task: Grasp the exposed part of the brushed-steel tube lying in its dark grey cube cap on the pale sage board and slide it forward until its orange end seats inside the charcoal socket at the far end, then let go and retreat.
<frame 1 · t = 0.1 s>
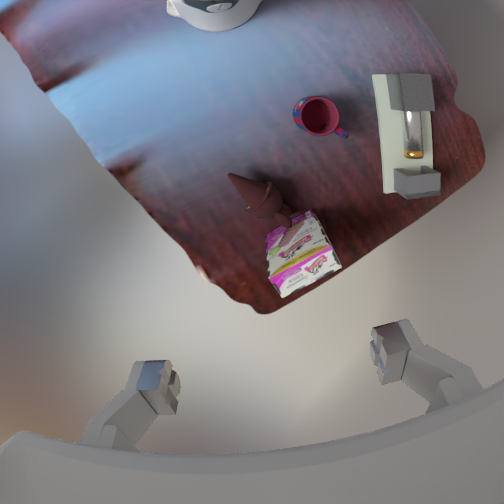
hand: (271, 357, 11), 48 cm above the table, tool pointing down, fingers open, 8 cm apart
mug: (317, 120, 51), on the table
dark grey cube cap: (401, 94, 48), resting on board
candy bar box: (292, 229, 61), on the table
icecream: (260, 192, 58), on the table
socket: (407, 175, 56), resting on board
tube: (411, 119, 47), point 3 cm above the table, slide at 0.0 cm
board: (405, 132, 51), on the table
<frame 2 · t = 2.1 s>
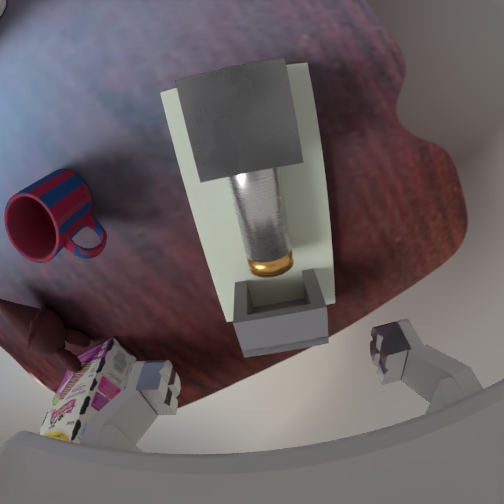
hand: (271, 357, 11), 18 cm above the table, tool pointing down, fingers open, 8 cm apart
mug: (78, 208, 27), on the table
dark grey cube cap: (242, 119, 24), resting on board
candy bar box: (102, 356, 38), on the table
icecream: (49, 312, 34), on the table
socket: (276, 285, 32), resting on board
tube: (255, 183, 23), point 3 cm above the table, slide at 0.0 cm
board: (260, 205, 28), on the table
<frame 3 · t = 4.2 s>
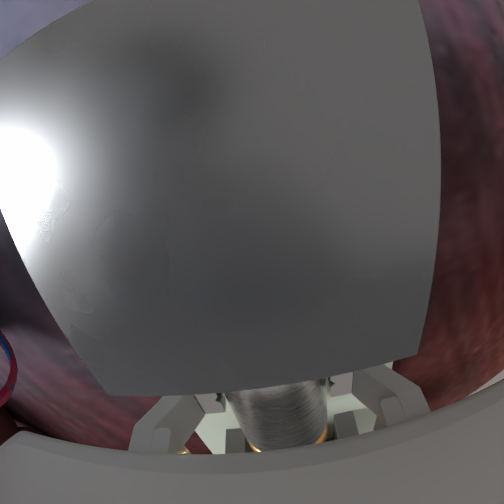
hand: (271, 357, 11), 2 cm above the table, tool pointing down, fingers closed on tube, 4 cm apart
dark grey cube cap: (233, 161, 10), resting on board
socket: (290, 423, 18), resting on board
tube: (262, 330, 10), point 3 cm above the table, slide at 0.0 cm, touching gripper
board: (271, 333, 14), on the table
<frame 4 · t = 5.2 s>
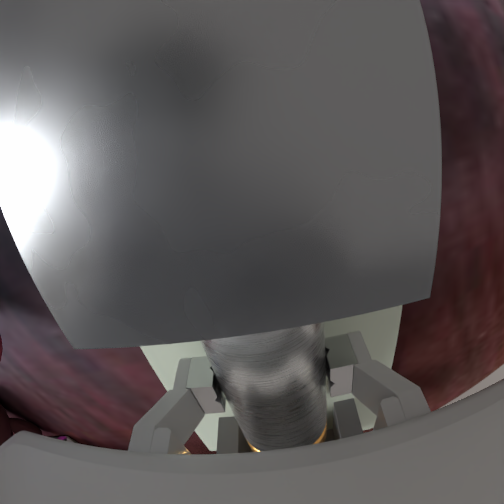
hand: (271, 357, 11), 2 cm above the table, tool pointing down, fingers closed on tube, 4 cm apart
dark grey cube cap: (225, 119, 9), resting on board
socket: (287, 413, 17), resting on board
tube: (262, 330, 10), point 3 cm above the table, slide at 1.5 cm, touching gripper
board: (265, 309, 13), on the table
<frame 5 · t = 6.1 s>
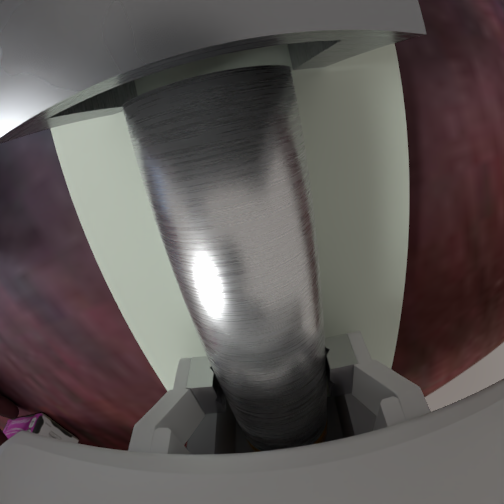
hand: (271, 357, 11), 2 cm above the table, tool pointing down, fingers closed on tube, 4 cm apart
dark grey cube cap: (200, 9, 8), resting on board
candy bar box: (38, 426, 22), on the table
socket: (280, 375, 15), resting on board
tube: (262, 330, 10), point 3 cm above the table, slide at 5.7 cm, touching gripper
board: (246, 220, 11), on the table
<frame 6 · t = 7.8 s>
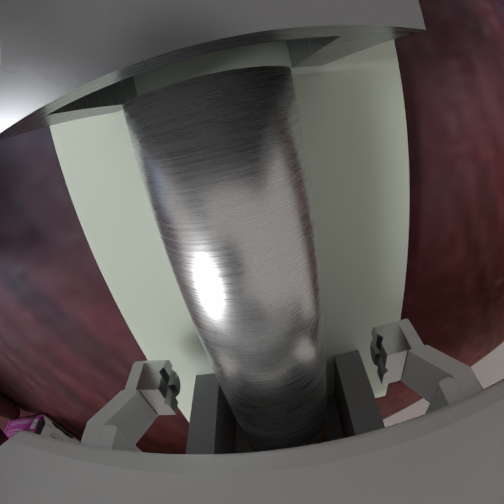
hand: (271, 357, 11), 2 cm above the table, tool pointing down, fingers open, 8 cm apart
dark grey cube cap: (199, 7, 7), resting on board
candy bar box: (39, 427, 22), on the table
socket: (280, 374, 15), resting on board
tube: (262, 330, 10), point 3 cm above the table, slide at 5.8 cm
board: (246, 219, 11), on the table
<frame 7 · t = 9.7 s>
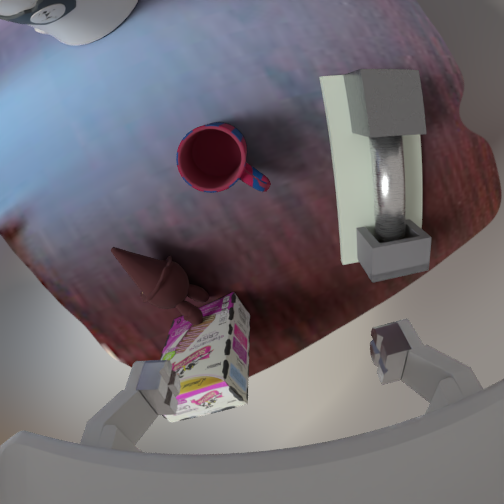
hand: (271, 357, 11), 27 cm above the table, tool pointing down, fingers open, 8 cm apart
mug: (229, 158, 35), on the table
dark grey cube cap: (372, 106, 31), resting on board
candy bar box: (210, 315, 45), on the table, touching icecream
icecream: (166, 268, 41), on the table, touching candy bar box
socket: (381, 234, 39), resting on board
tube: (389, 196, 33), point 3 cm above the table, slide at 5.8 cm
board: (378, 169, 35), on the table
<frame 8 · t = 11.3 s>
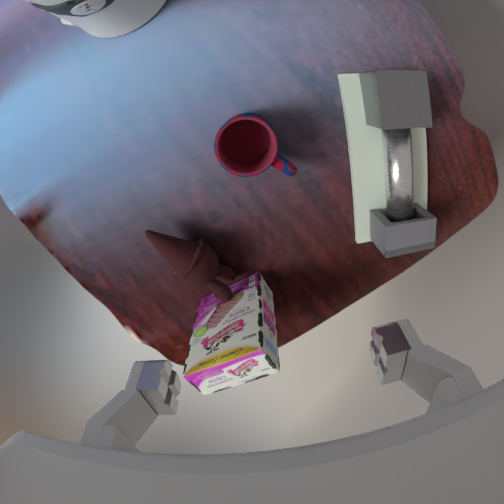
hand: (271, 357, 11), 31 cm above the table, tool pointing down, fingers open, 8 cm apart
mug: (256, 146, 37), on the table
dark grey cube cap: (383, 101, 34), resting on board
candy bar box: (234, 294, 48), on the table
icecream: (194, 250, 44), on the table
socket: (391, 216, 42), resting on board
tube: (399, 181, 36), point 3 cm above the table, slide at 5.8 cm
board: (388, 157, 38), on the table
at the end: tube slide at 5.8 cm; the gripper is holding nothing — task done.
